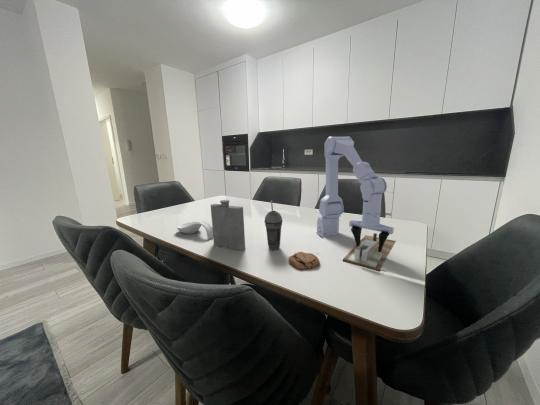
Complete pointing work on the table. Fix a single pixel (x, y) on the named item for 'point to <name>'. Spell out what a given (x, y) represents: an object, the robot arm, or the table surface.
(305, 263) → the cookie
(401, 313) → the table surface
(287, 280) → the table surface
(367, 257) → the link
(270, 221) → the beverage cup
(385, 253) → the stand
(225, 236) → the hip flask
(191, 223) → the white curved piece
